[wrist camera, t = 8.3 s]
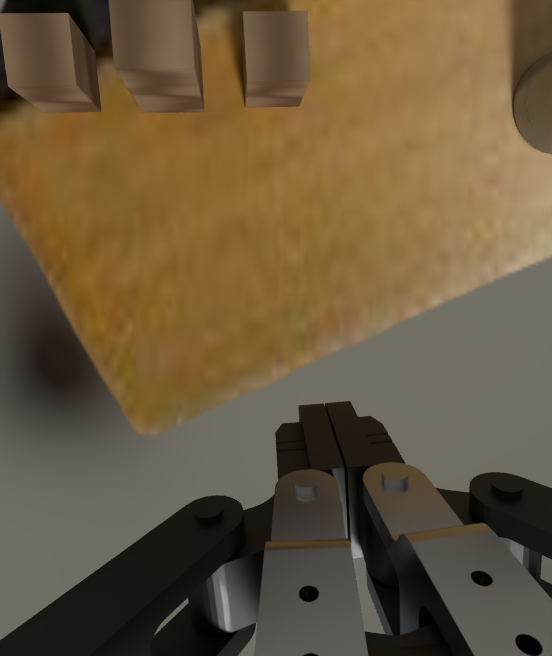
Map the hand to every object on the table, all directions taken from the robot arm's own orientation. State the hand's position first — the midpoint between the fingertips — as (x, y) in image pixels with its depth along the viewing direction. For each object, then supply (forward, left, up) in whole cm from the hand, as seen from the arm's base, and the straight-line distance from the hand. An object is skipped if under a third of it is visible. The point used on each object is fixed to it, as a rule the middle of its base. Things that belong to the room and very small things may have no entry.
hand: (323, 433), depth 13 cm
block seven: (+16, -21, -32) cm, 42 cm away
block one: (-2, -21, -32) cm, 39 cm away
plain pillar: (+7, -21, -32) cm, 39 cm away
